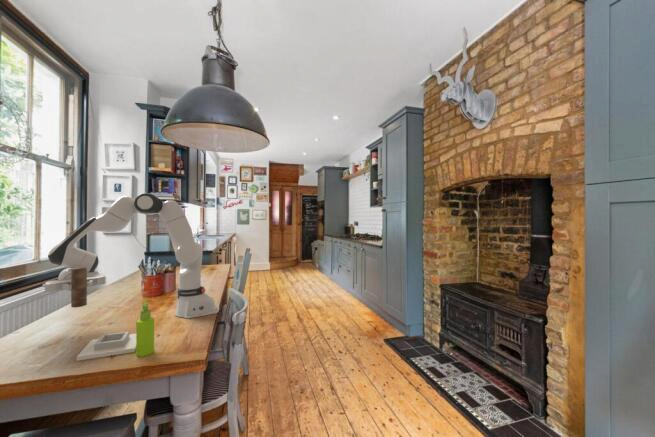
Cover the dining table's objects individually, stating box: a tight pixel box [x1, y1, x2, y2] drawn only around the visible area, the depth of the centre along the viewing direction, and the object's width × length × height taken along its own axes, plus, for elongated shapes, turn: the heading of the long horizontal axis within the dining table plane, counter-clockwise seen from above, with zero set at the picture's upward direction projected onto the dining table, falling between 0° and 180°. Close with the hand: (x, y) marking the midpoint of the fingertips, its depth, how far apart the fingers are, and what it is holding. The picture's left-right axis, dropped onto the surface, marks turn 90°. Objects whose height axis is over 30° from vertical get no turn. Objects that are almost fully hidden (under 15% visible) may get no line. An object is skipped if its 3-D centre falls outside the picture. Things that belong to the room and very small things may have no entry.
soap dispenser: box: [135, 301, 155, 357], centre depth 111 cm, size 6×7×20 cm
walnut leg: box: [70, 267, 88, 308], centre depth 121 cm, size 5×5×16 cm
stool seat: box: [76, 331, 136, 362], centre depth 115 cm, size 18×16×4 cm
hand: (79, 286), depth 120 cm, fingers closed on walnut leg, 5 cm apart
